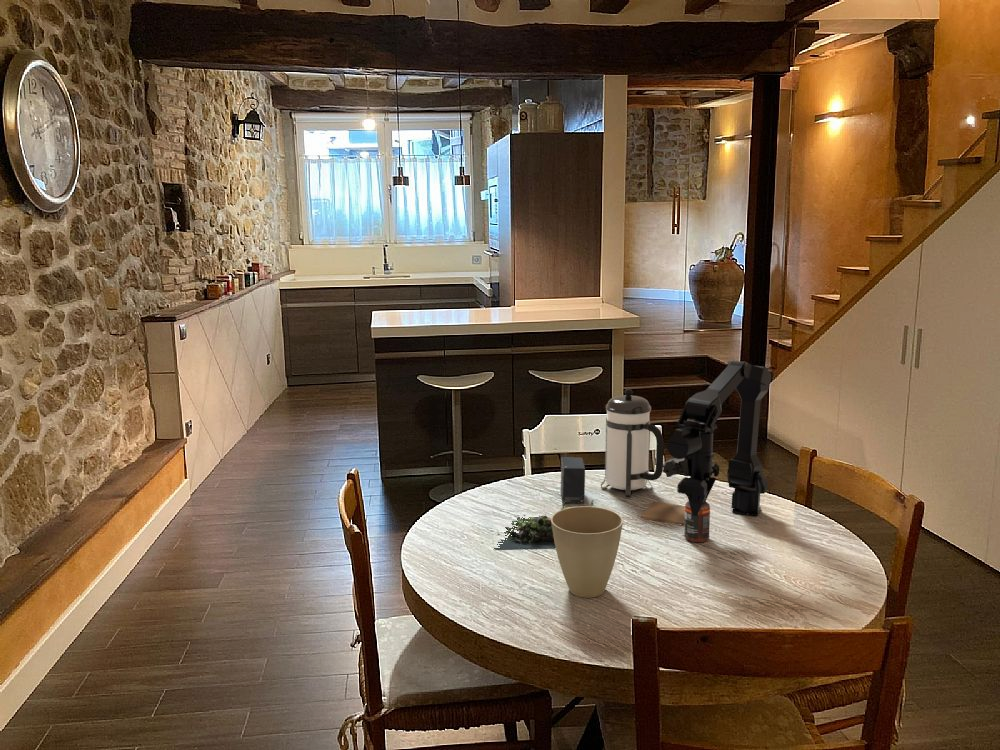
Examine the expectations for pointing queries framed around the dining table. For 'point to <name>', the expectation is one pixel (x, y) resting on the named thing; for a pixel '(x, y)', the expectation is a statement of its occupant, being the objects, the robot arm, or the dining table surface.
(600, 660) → the dining table surface
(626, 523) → the dining table surface
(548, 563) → the dining table surface
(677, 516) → the walnut trivet
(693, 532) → the supplement bottle
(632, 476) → the coffee press
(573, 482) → the small box
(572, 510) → the plant pot
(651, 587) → the dining table surface
